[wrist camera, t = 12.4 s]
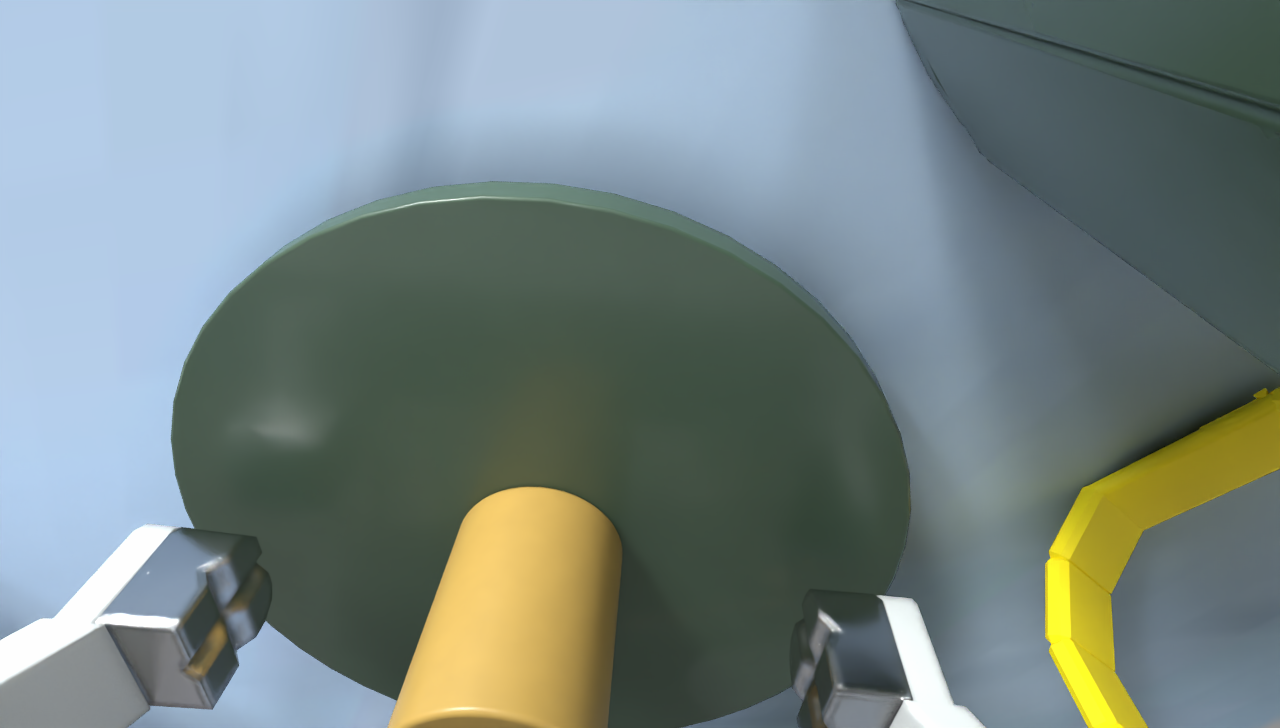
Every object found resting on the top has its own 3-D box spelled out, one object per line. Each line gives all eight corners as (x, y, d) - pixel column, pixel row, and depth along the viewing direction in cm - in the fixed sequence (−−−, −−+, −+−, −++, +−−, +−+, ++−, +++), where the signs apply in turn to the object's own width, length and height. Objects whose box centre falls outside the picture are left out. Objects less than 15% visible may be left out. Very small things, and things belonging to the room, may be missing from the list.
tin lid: (999, 213, 9) (1269, 446, 5) (804, 705, 15) (850, 985, 11) (116, 122, 9) (-358, 284, 5) (289, 656, 15) (148, 921, 11)
